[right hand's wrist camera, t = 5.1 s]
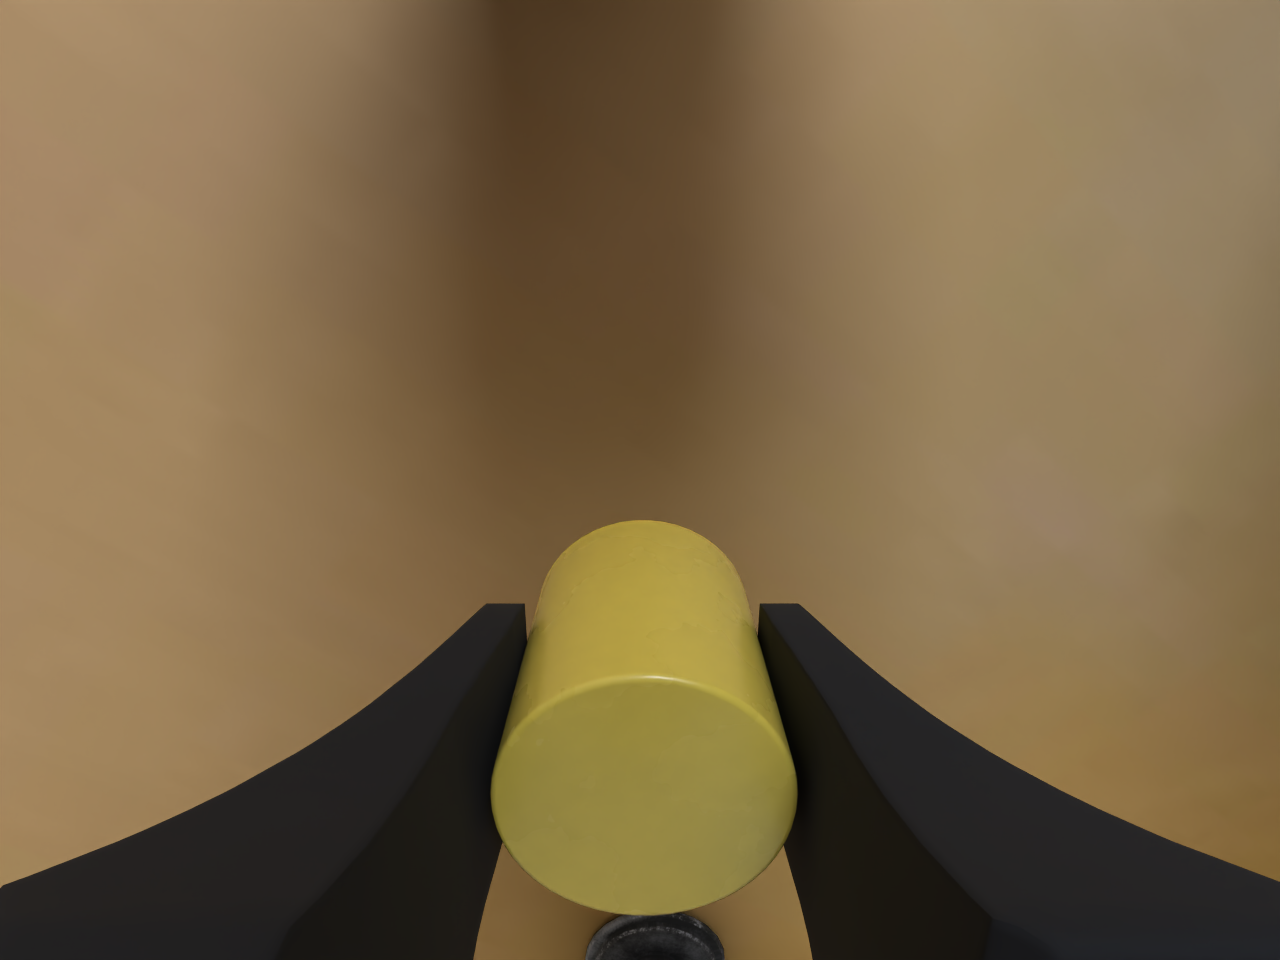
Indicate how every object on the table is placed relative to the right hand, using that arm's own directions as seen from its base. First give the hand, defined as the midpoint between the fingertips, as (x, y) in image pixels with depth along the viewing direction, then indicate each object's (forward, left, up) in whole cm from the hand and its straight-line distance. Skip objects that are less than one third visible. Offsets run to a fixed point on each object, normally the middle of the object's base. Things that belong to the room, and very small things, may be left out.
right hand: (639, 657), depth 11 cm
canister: (0, 0, -1) cm, 1 cm away
